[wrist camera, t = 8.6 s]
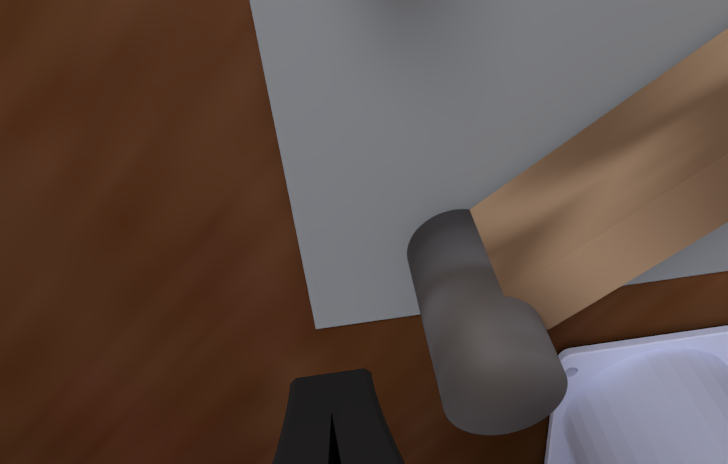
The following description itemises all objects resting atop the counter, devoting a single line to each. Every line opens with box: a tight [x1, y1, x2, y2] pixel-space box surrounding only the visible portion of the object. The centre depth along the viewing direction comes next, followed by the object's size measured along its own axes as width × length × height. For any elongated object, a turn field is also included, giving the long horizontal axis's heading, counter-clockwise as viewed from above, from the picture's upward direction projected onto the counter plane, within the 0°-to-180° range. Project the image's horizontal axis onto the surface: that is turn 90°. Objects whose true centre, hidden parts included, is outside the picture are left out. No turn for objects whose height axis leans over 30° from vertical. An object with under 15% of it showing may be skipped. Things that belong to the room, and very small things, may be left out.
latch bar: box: [407, 28, 728, 435], centre depth 17 cm, size 17×3×6 cm, turn 130°
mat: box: [250, 0, 728, 329], centre depth 18 cm, size 20×18×1 cm
